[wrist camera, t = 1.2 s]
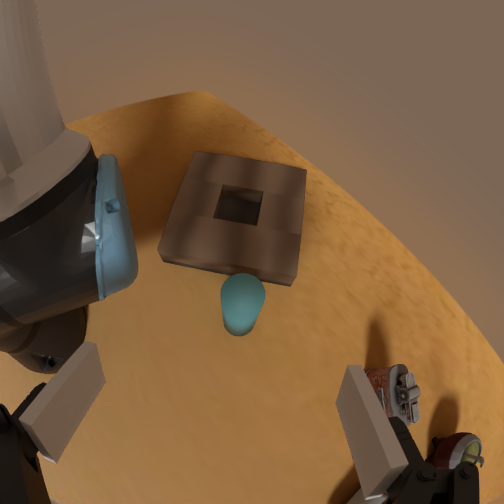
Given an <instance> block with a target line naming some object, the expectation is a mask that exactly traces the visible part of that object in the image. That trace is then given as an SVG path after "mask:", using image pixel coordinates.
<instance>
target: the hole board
mask: <svg viewBox="0 0 504 504" xmlns="http://www.w3.org/2000/svg"><path fill="white" fill-rule="evenodd" d="M306 174H307V170H305V169H301V168H296V167H291V166H286V165H281V164H276V163H271V162H265V161H260V160H254V159H248V158H242V157H236V156H229V155H223V154H216V153H208V152H201V151H195V153H194V155H193V157H192V160H191V162H190V164H189V167H188V169H187V172H186V174H185V176H184V179H183V181H182V184H181V186H180V189H179V191H178V194H177V196H176V199H175V202H174V204H173V207H172V209H171V212H170V215H169V217H168V220H167V223H166V226H165V228H164V231H163V234H162V237H161V240H160V243H159V246H158V249H157V250H158V252H159V254H160V256H161V258H162V260H163V262H166V263H171V264H176V265H181V266H186V267H191V268H195V269H200V270H205V271H210V272H215V273H221V274H226V275H231V276H232V275H234V274H238V273H247V274H251V275H253V276H255V277H256V278H258V279H259V280H260V281H263V282H268V283H273V284H279V285H284V286H291V285H292V283H293V281H294V280H295V278H296V276H297V269H298V260H299V251H300V241H301V232H302V221H303V210H304V199H305V187H306Z"/></svg>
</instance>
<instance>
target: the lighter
mask: <svg viewBox="0 0 504 504" xmlns="http://www.w3.org/2000/svg"><path fill="white" fill-rule="evenodd" d="M365 374H366V376H367V378H368V380H369V382H370V383H371V385H372V387H373V389H374V391H375V393H376V395H377V397H378V399H379V402H380V404H381V406H382V408H383V410H384V412H385V414H386V416H387V418H389V417H395V416H398V417H399V418H400V419H401V420H402V421H403V422H404V423H405V424H406V426H409V425H410V424H411V423H412V424H415V423H417V422H418V421H419V420H420V415H419V406H418V397H419V395H420V389H419V387H418V386H417V385H416V383H415V377H414V373H413V372H410V373H409V372H408V369H407V367H406V366H405V365H403V364H397V365H394V366H392V367H389V368H383V369H369V370H367V371H366V372H365Z"/></svg>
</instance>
